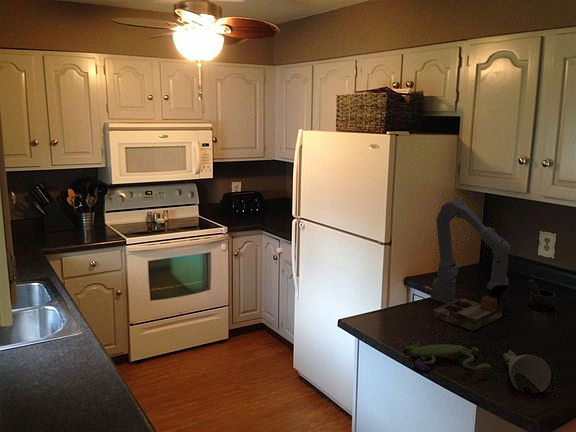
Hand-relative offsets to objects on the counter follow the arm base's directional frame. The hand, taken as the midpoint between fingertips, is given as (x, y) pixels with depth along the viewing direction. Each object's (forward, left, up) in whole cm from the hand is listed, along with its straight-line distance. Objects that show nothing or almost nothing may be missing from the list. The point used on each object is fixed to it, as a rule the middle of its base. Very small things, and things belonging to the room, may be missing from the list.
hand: (495, 302), depth 214 cm
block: (0, -6, -1) cm, 6 cm away
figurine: (+12, -55, -5) cm, 56 cm away
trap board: (-4, -14, -4) cm, 16 cm away
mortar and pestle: (+10, +20, -5) cm, 22 cm away
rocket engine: (+33, -45, -5) cm, 56 cm away
